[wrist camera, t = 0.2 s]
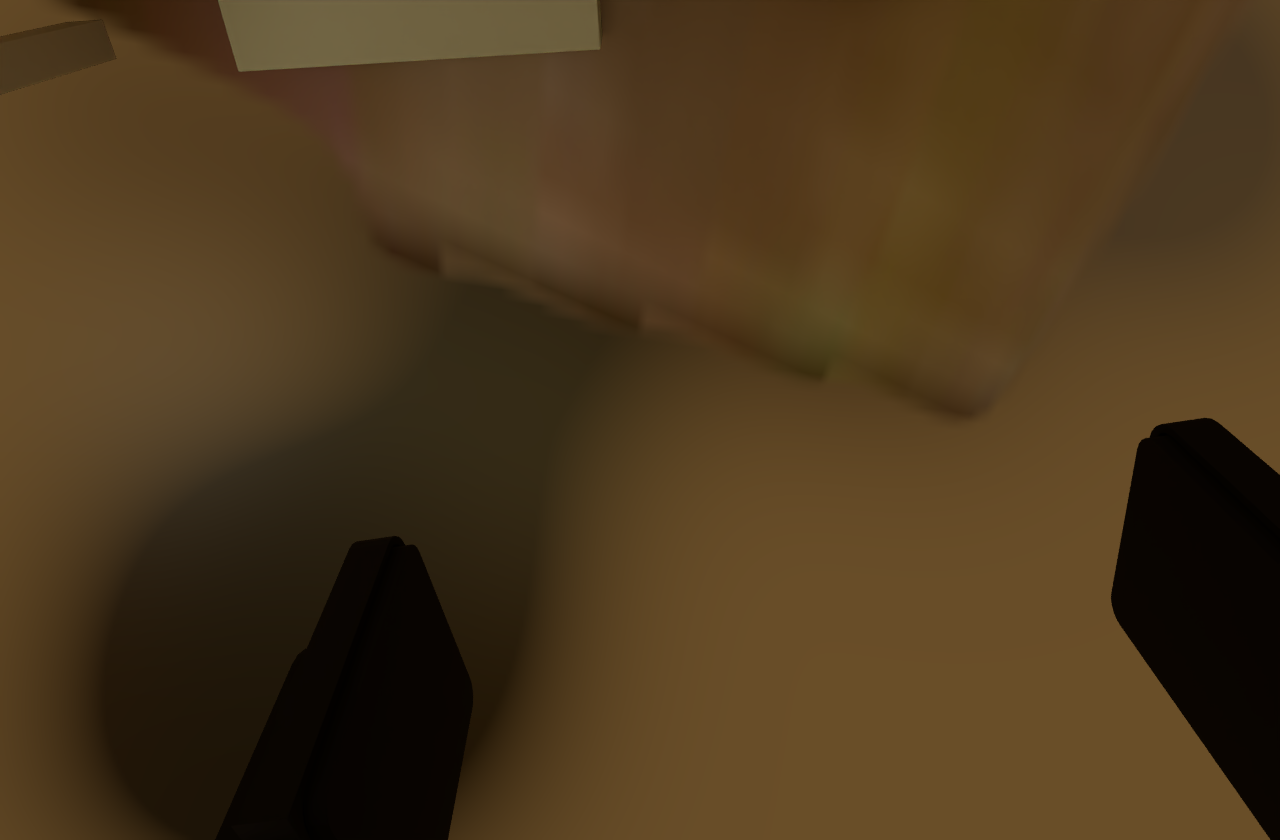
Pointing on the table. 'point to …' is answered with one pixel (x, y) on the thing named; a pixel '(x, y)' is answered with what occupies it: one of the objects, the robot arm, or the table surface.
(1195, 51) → the table surface
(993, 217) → the table surface
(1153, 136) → the table surface
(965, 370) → the table surface
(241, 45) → the socket block
